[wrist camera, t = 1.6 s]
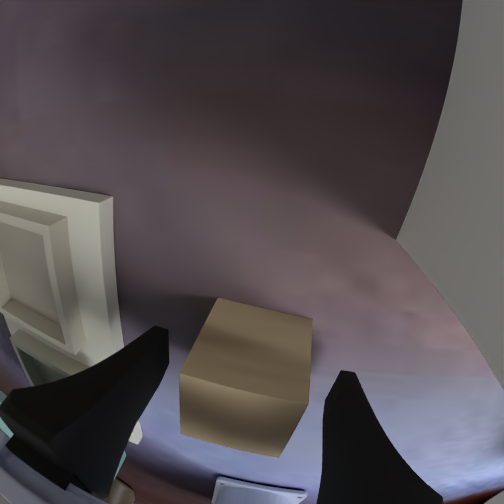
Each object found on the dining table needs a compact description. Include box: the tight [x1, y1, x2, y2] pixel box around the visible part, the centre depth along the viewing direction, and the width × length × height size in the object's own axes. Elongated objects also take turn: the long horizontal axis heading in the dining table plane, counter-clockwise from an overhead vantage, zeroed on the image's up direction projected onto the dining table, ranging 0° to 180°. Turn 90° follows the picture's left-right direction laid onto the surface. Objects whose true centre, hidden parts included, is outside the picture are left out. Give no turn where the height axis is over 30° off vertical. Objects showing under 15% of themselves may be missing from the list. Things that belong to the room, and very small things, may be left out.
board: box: [0, 178, 143, 445], centre depth 15 cm, size 19×11×2 cm, turn 171°
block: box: [179, 298, 312, 458], centre depth 11 cm, size 4×4×4 cm
